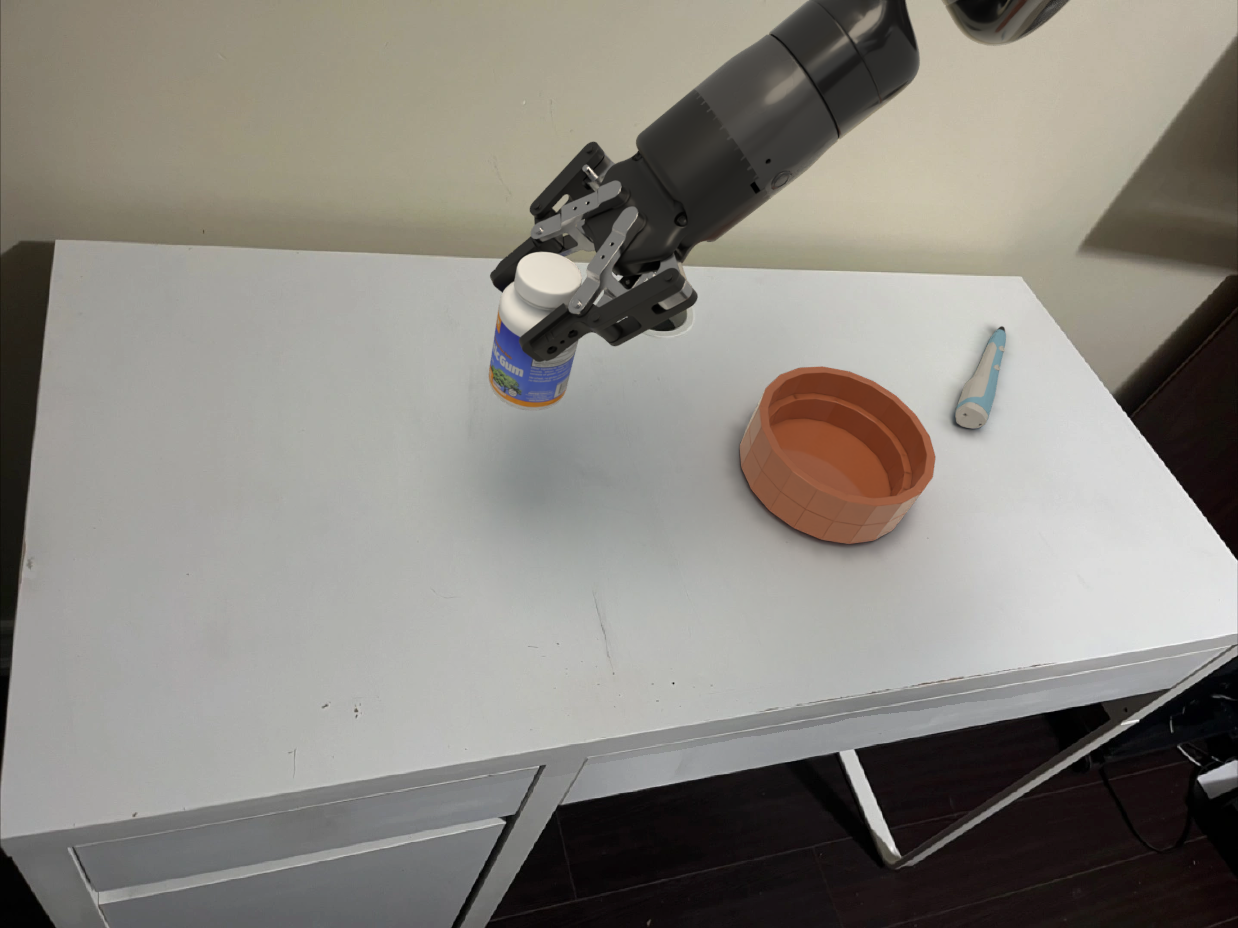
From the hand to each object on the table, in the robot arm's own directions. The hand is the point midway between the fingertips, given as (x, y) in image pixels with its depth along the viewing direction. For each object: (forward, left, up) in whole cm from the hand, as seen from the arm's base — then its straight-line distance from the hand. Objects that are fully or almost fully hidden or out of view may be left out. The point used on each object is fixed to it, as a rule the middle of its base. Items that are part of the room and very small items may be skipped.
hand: (514, 318), depth 54 cm
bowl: (-18, -24, -19) cm, 36 cm away
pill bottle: (-1, -2, -6) cm, 7 cm away
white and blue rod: (-24, -50, -19) cm, 59 cm away
